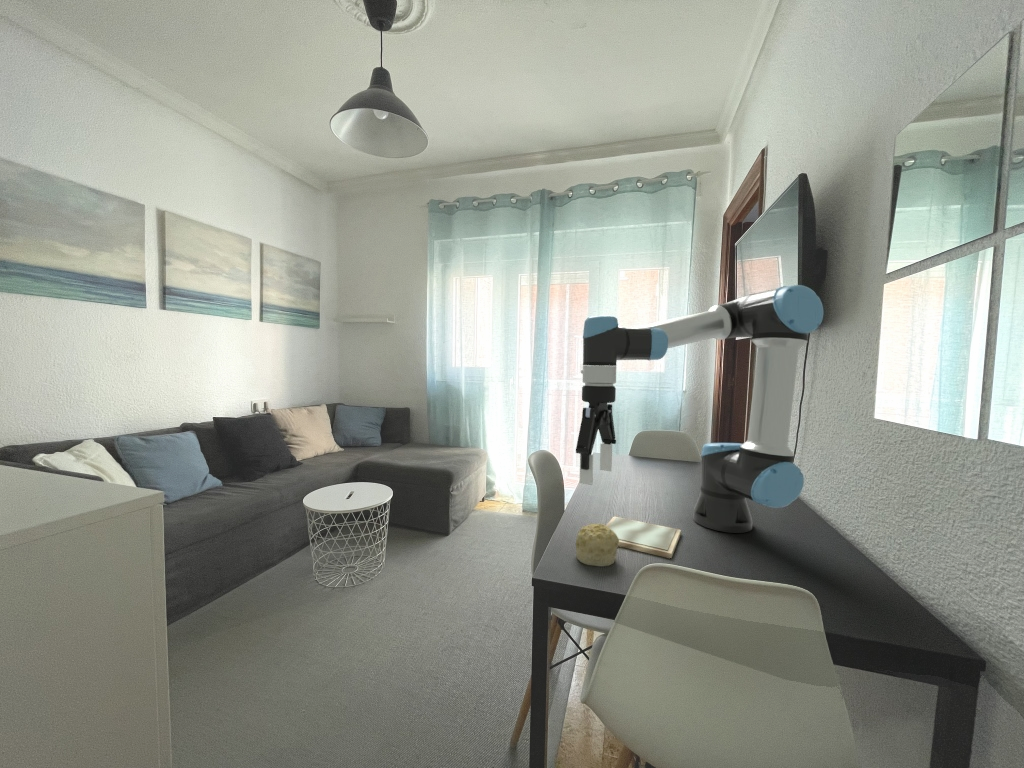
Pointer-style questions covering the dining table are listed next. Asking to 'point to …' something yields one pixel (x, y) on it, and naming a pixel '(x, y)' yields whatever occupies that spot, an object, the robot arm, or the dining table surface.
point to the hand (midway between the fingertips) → (596, 476)
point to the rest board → (645, 536)
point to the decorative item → (596, 545)
